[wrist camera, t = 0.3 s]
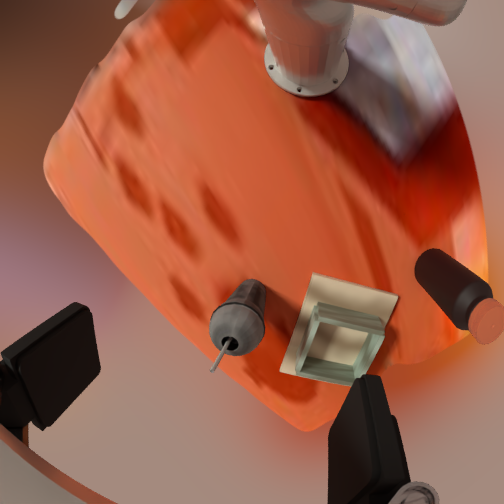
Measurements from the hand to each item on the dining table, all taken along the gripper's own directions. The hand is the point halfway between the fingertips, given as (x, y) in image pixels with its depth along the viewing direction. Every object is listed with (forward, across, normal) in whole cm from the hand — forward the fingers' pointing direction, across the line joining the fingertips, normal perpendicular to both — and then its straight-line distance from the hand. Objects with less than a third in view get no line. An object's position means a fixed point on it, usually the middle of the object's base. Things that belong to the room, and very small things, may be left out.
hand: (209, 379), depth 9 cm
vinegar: (+36, -26, +4) cm, 45 cm away
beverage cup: (+36, +3, +13) cm, 39 cm away
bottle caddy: (+36, -13, +19) cm, 43 cm away
